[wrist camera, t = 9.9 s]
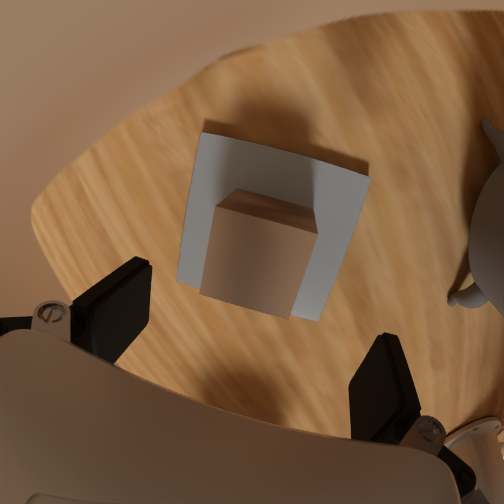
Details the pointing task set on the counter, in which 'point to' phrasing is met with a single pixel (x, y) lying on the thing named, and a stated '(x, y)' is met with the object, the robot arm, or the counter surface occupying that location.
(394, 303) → the counter surface
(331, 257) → the plate
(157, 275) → the counter surface
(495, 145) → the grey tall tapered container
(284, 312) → the walnut cube
